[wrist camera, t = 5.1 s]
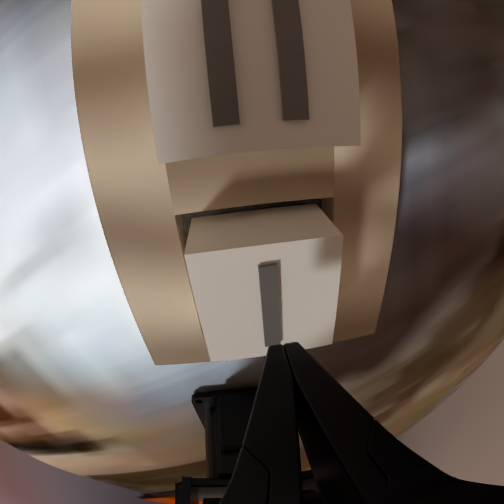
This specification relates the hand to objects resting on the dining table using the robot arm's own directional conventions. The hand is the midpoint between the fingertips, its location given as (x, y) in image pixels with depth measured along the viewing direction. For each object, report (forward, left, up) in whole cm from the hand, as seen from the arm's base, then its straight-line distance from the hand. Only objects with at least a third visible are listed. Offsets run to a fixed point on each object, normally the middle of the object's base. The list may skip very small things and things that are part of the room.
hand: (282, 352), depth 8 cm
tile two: (+8, 0, -4) cm, 9 cm away
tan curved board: (+8, 0, -6) cm, 10 cm away
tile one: (0, 0, -5) cm, 5 cm away
